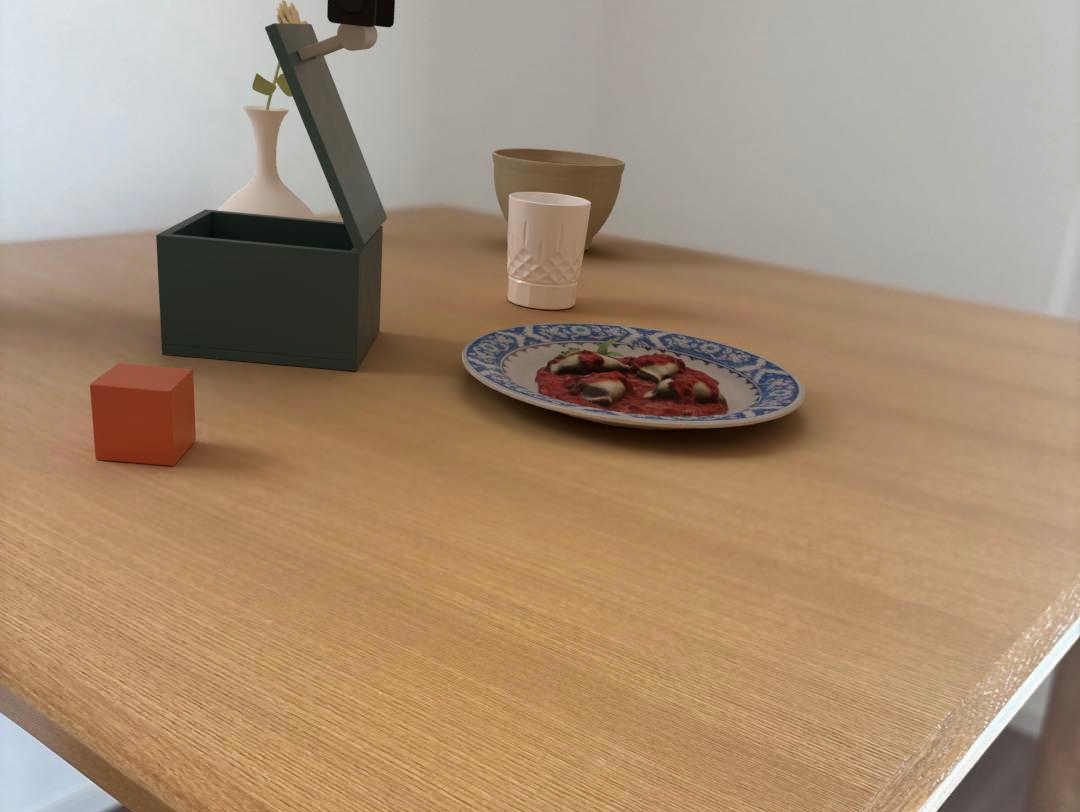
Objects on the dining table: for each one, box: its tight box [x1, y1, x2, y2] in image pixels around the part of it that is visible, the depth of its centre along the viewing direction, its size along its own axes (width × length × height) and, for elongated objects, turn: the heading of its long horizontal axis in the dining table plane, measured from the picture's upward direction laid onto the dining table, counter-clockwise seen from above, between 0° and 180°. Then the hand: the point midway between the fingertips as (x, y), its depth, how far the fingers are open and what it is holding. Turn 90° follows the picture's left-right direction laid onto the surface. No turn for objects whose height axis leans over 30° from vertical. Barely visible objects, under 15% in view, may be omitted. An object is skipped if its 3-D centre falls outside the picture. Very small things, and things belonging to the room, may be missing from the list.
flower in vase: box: [217, 0, 317, 220], centre depth 128 cm, size 13×11×25 cm
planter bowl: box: [491, 147, 626, 251], centre depth 139 cm, size 16×16×11 cm
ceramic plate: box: [461, 322, 807, 431], centre depth 85 cm, size 26×26×3 cm
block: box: [89, 362, 197, 467], centre depth 66 cm, size 4×4×4 cm
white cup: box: [506, 192, 591, 311], centre depth 110 cm, size 8×8×10 cm
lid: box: [264, 22, 388, 248], centre depth 84 cm, size 15×13×6 cm
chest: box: [155, 208, 384, 372], centre depth 89 cm, size 15×13×9 cm
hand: (362, 25), depth 81 cm, fingers open, 9 cm apart
